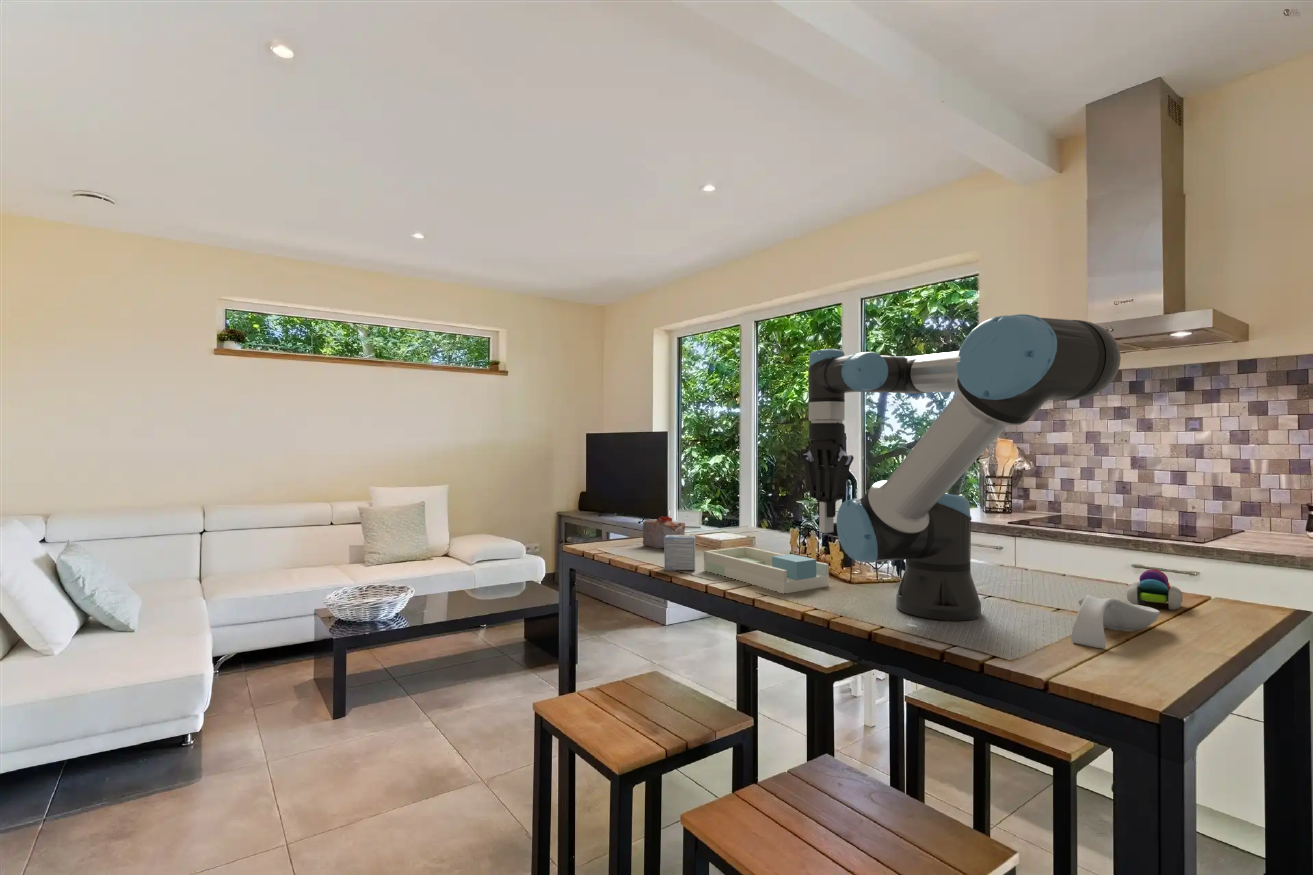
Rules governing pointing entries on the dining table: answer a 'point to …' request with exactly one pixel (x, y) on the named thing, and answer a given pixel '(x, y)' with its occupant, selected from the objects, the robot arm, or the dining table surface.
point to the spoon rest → (1108, 619)
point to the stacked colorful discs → (1154, 590)
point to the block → (795, 566)
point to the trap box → (760, 569)
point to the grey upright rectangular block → (679, 552)
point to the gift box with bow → (660, 531)
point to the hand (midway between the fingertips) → (826, 531)
